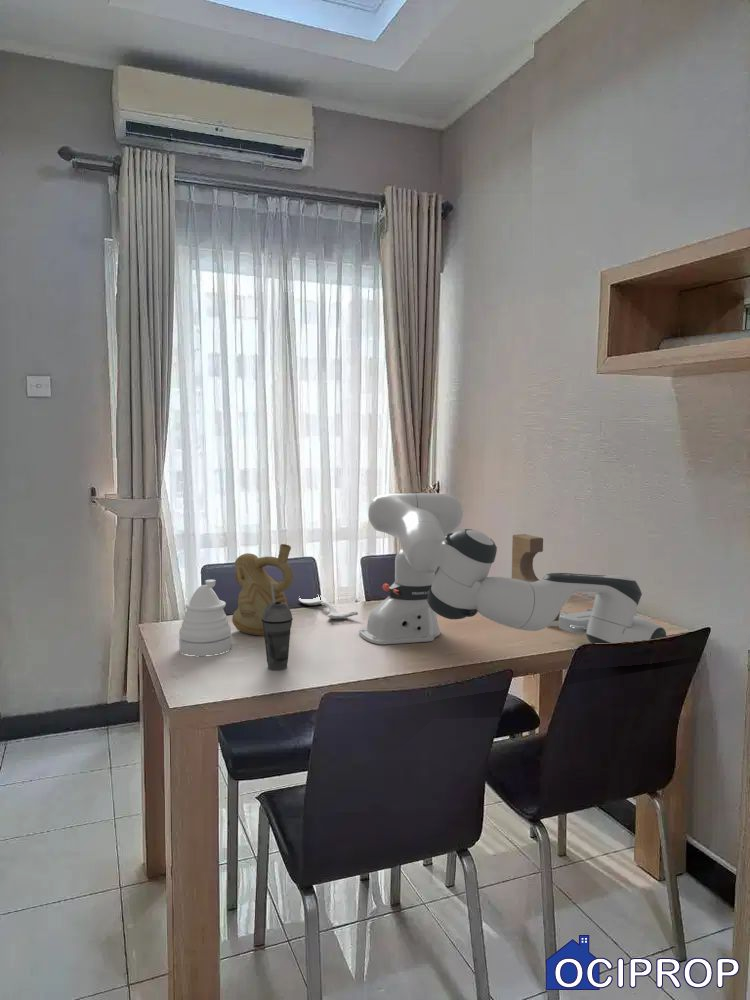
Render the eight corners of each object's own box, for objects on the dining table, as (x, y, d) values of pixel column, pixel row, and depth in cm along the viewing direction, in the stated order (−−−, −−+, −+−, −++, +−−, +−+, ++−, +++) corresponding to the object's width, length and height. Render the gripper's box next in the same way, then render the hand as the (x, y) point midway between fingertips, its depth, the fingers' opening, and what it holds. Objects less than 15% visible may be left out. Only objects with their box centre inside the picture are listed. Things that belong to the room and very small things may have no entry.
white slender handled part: (330, 626, 199) (330, 614, 199) (294, 602, 228) (294, 592, 227) (359, 622, 203) (359, 610, 203) (319, 599, 232) (319, 589, 231)
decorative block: (542, 594, 239) (544, 538, 237) (528, 596, 237) (530, 538, 235) (524, 588, 249) (525, 533, 247) (510, 589, 247) (511, 534, 245)
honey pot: (241, 645, 179) (240, 577, 177) (210, 659, 167) (208, 587, 166) (201, 639, 184) (200, 573, 183) (168, 653, 172) (166, 582, 171)
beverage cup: (292, 672, 158) (291, 586, 157) (260, 672, 158) (259, 587, 156) (293, 661, 166) (293, 580, 164) (263, 662, 165) (262, 580, 163)
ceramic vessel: (254, 619, 205) (253, 536, 203) (309, 628, 196) (308, 541, 194) (215, 633, 190) (214, 543, 188) (273, 643, 181) (272, 549, 179)
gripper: (579, 642, 173) (544, 628, 185) (640, 633, 181) (603, 621, 194) (579, 617, 172) (545, 605, 185) (641, 610, 181) (604, 599, 193)
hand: (575, 613), depth 189 cm, fingers open, 8 cm apart
